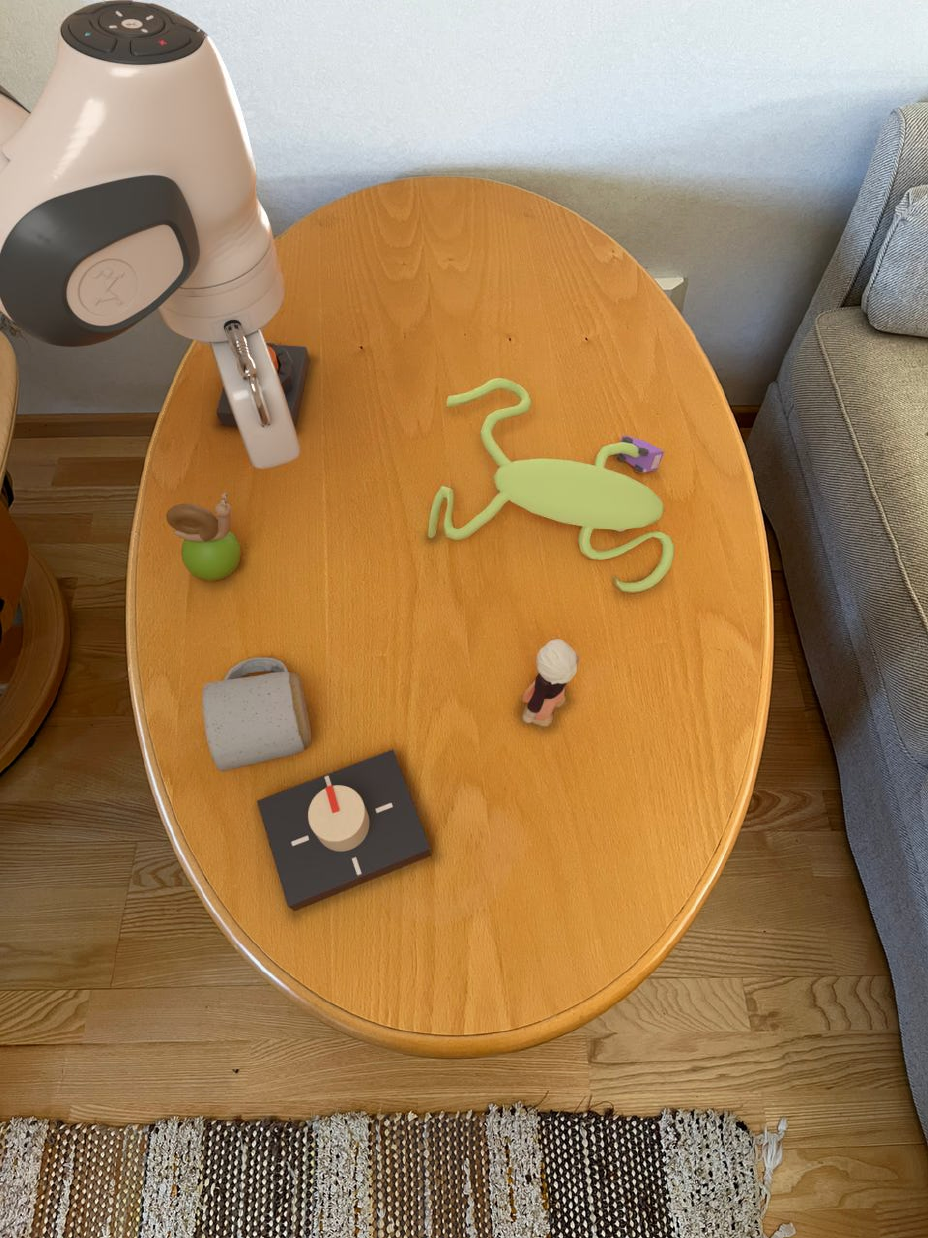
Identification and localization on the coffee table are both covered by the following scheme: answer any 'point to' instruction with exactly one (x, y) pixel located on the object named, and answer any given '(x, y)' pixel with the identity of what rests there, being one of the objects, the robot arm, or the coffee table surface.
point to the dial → (338, 818)
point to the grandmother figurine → (549, 682)
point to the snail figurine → (206, 539)
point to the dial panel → (328, 872)
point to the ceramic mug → (255, 715)
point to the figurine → (567, 489)
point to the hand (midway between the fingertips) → (260, 412)
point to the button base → (291, 377)
